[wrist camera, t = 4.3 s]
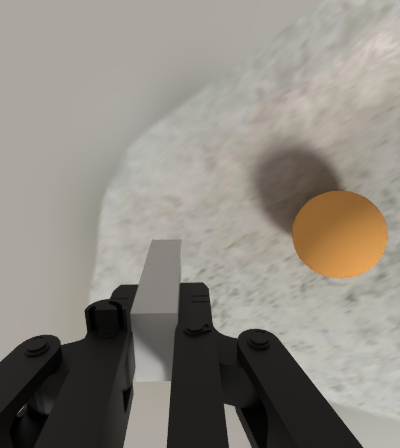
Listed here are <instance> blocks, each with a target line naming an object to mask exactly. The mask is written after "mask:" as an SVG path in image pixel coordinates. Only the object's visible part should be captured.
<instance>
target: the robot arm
mask: <svg viewBox="0 0 400 448" xmlns="http://www.w3.org/2000/svg"><path fill="white" fill-rule="evenodd" d="M85 318H86V325H87V334H86V336H85V338H84V339H82V340H80V341H76V342H72V343H68V344H64V345H61V343H60V340H59V339H58V338H57V337H55V336H53V335H40V336H36V337H33V338H30V339H28V340H26V341H24V342H23V343H22V344H20V345H18V346H17V347H16V348H15V349H14V350H13V351H12V352H11V353H10V354H9V355H8V356H6V357H5V358H4V359H3V360H2V361H1V362H0V448H123V445H124V440H125V435H126V430H127V425H128V420H129V415H130V410H131V404H132V399H133V377H134V373H135V380H136V382H150V381H171V394H170V409H169V422H168V424H169V425H168V437H167V448H229V444H228V436H227V428H226V419H225V410H224V404H228V405H232V406H235V409H236V413H237V415H238V417H239V420H240V422H241V424H242V426H243V428H244V431H245V433H246V435H247V438H248V440H249V442H250V444H251V447H252V448H363V447H362V445H361V444H360V443H359V442H358V440H357V439H356V438H355V436H354V435H353V434H352V433H351V431H350V430H349V429H348V428H347V426H346V425H345V424H344V422H343V421H342V420H341V419H340V417H339V416H338V415H337V413H336V412H335V411H334V409H333V408H332V407H331V406H330V404H329V403H328V402H327V400H326V399H325V398H324V397H323V395H322V394H321V393H320V392H319V390H318V389H317V388H316V386H315V385H314V384H313V383H312V381H311V380H310V379H309V377H308V376H307V375H306V374H305V372H304V371H303V370H302V368H301V367H300V366H299V365H298V363H297V362H296V361H295V359H294V358H293V357H292V356H291V354H290V353H289V352H288V350H287V349H286V348H285V347H284V345H283V344H282V343H281V341H280V340H279V339H278V338H277V337H276V336H275V335H274V334H273V333H270V332H268V331H266V330H261V329H249V330H246V331H243V332H242V333H241V334H240V335H239V337H238V339H237V338H232V337H228V336H225V335H223V334H221V333H219V332H218V331H217V330H216V329H215V328H214V326H213V323H212V314H211V305H210V297H209V288H208V287H207V286H206V285H205V284H204V283H203V282H201V283H182V243H181V240H152V242H151V245H150V248H149V252H148V255H147V259H146V262H145V265H144V269H143V272H142V275H141V279H140V282H139V285H120V286H119V287H118V288H116V289H115V290H114V291H113V293H112V295H111V298H110V299H105V300H100V301H97V302H94V303H93V304H91V305H89V306H88V307H87V308H86V309H85ZM23 406H24V407H23ZM22 407H23V409H22ZM21 409H22V410H21ZM20 410H21V411H20ZM19 411H20V412H19ZM18 412H19V413H18ZM17 413H18V414H17Z"/></svg>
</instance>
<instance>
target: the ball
mask: <svg viewBox="0 0 400 448" xmlns="http://www.w3.org/2000/svg"><path fill="white" fill-rule="evenodd" d="M292 238H293V244H294V247H295V250H296V252H297V254H298V256H299V257H300V259H301V260H302V261H303V262H304V263H305V264H306V265H307V266H308V267H309V268H310V269H312V270H313V271H315V272H317V273H319V274H321V275H324V276H327V277H331V278H350V277H354V276H357V275H360V274H362V273H364V272H366V271H368V270H369V269H370V268H372V267H373V266H374V265H375V264H376V263H377V262H378V261H379V259H380V258H381V256H382V254H383V253H384V250H385V247H386V244H387V226H386V223H385V220H384V218H383V216H382V214H381V212H380V211H379V209H378V208H377V207H376V206H375V205H374V204H373V203H372V202H371V201H369V200H368V199H367V198H365V197H363V196H361V195H359V194H356V193H353V192H349V191H330V192H326V193H323V194H320V195H318V196H315V197H314V198H312V199H311V200H309V201H308V202H307V203H306V204H305V205H304V206H303V207H302V208H301V209H300V211H299V212H298V214H297V216H296V218H295V221H294V224H293V230H292Z"/></svg>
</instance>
